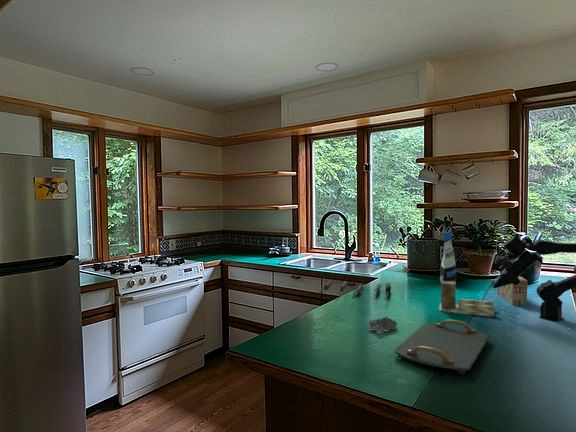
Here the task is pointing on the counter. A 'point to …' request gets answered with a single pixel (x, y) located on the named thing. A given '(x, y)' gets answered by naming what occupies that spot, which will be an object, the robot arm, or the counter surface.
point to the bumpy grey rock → (382, 324)
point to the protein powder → (448, 260)
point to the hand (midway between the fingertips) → (493, 287)
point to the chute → (472, 307)
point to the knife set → (358, 291)
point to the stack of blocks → (514, 292)
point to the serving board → (444, 345)
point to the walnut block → (448, 294)
